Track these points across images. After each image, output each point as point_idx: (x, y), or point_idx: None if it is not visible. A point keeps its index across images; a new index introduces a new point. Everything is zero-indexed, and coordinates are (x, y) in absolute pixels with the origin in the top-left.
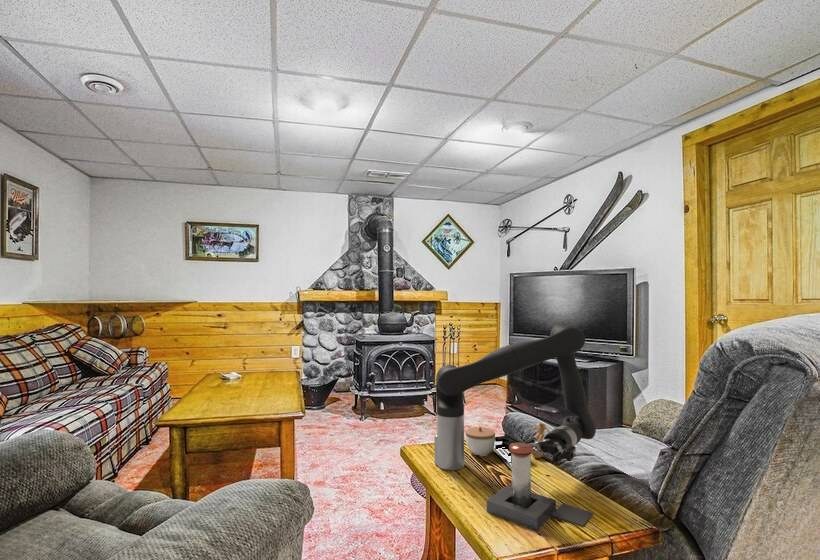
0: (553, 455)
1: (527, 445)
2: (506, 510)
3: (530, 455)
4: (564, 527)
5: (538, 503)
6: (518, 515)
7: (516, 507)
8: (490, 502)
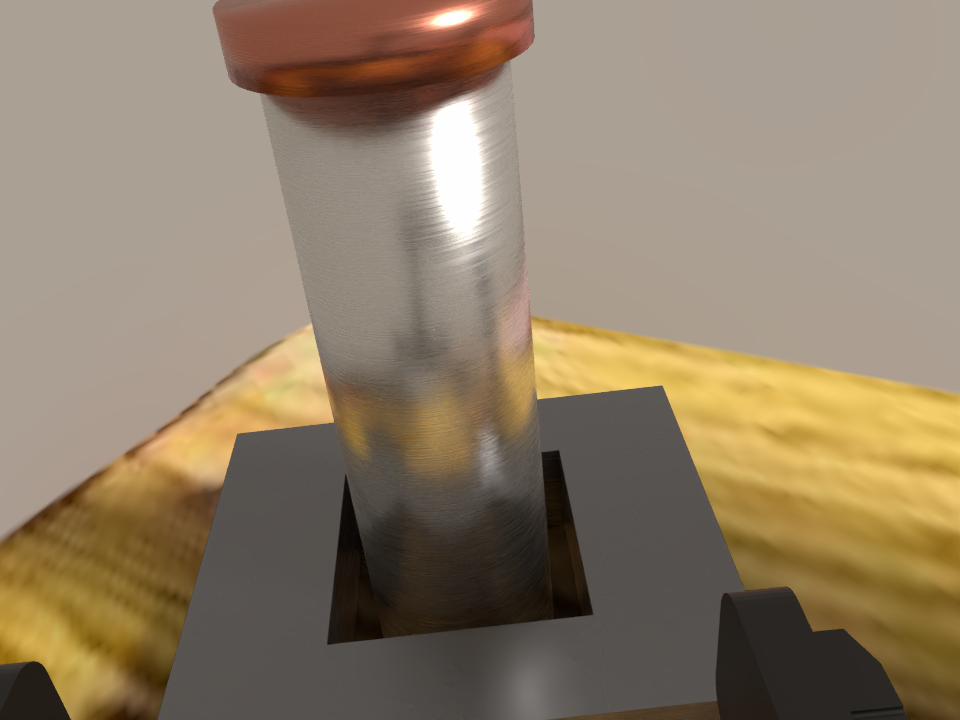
0: (12, 666)
1: (307, 10)
2: None
3: (264, 113)
4: (72, 655)
5: (295, 587)
6: None
7: None
8: (627, 393)
